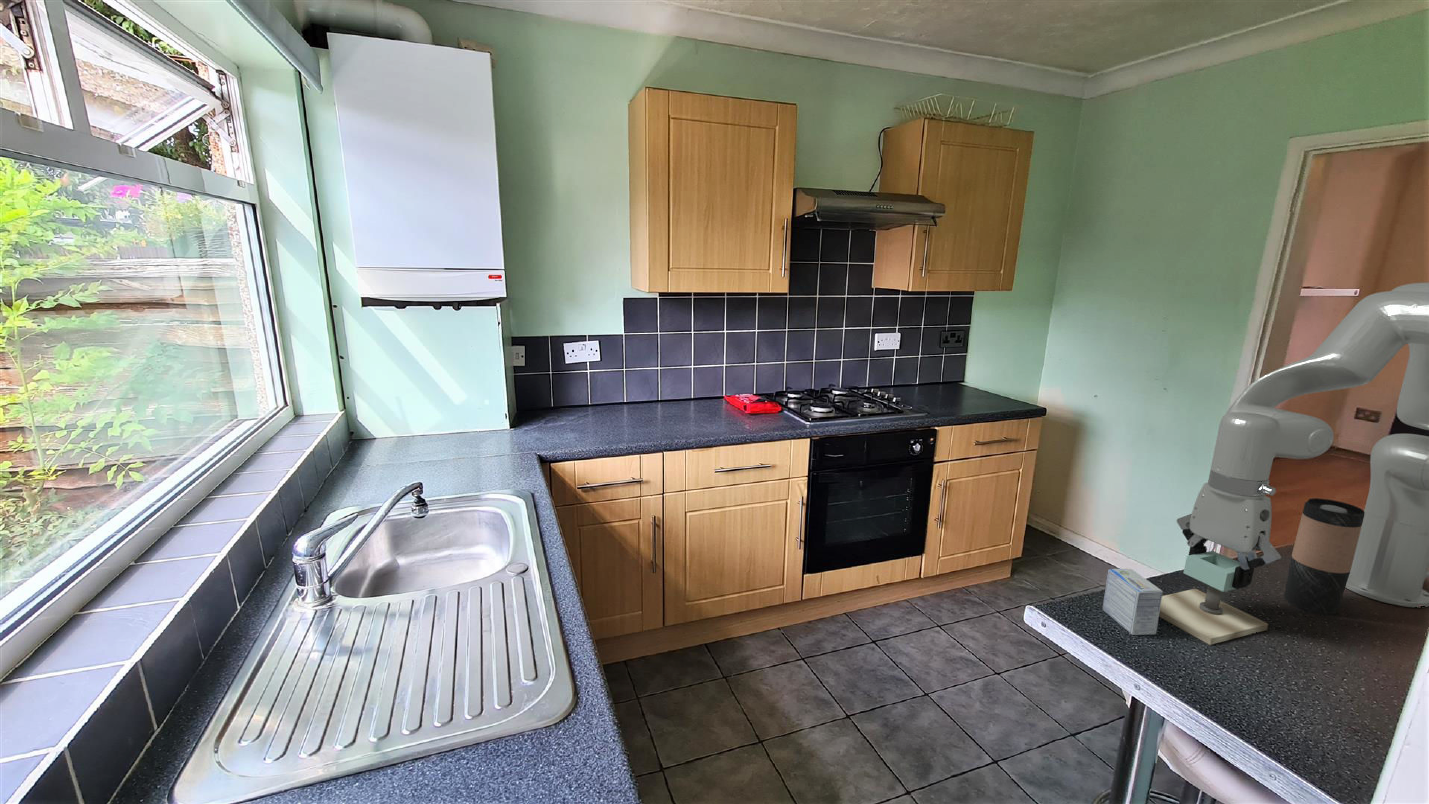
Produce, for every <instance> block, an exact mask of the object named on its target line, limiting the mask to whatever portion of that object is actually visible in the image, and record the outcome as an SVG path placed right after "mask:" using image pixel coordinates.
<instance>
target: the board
mask: <svg viewBox="0 0 1429 804" xmlns="http://www.w3.org/2000/svg"><path fill="white" fill-rule="evenodd" d="M1222 593H1223V591H1220V590H1218V589H1216V588H1214V587H1212V586H1210V585H1208V584H1207V589H1206V593H1205V592H1204V591H1201V590H1199V589H1197V588H1191V589H1188V590H1183V591H1179V592H1174V593H1171V594H1165V595H1162V600H1161V606H1160V612H1159V617H1160V618H1161V619H1163V620H1164V621H1166V622H1168V623H1169V624H1172V625H1173V626H1175V627H1177V628H1179V629H1181V630H1182V631H1184V632H1185V633H1187V634H1189V635H1191V636H1193V637H1194V638H1196V639H1198V640H1200V641H1202V642H1204V643H1205V644H1207V645H1209V646H1211V645H1215V644H1218V643H1223V642H1225V641H1230V640H1234V639H1238V638H1241V637H1245V636H1249V635H1253V634H1256V632H1257V633H1260V632H1264V631H1267V630H1268V627H1269V623H1267V622H1265V621H1263V620H1261V619H1259V618H1257V617H1255V616H1253V615H1251V614H1249V613H1247V612H1244V611H1243V610H1240V609H1239V608H1236V607H1234V606H1232V605H1230V604H1228V603H1227V602H1224V601H1222V600H1221V598H1222ZM1252 633H1253V634H1252Z"/></svg>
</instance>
